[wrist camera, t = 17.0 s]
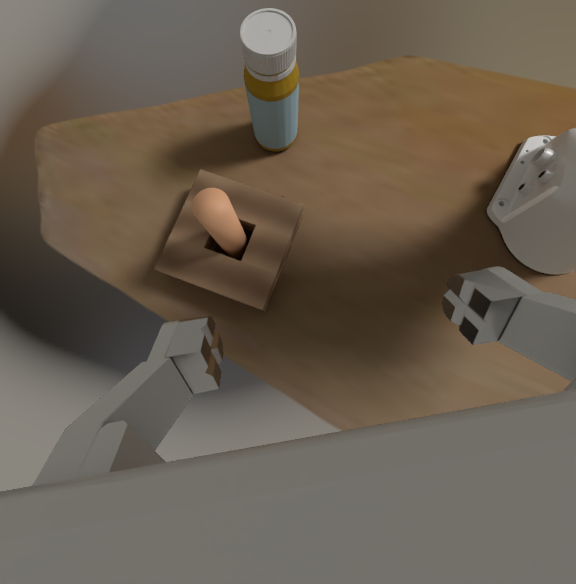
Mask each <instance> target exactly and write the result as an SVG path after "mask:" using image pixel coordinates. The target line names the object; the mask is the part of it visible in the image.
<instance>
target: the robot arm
mask: <svg viewBox="0 0 576 584" xmlns="http://www.w3.org/2000/svg"><path fill="white" fill-rule="evenodd" d="M499 204H500V205H501V206H500V205H499ZM487 214H488V216H489V218H490V219H491V220H492V221H493V222H494V223H495V224H496V225H497V226H498V228H499V230H500V232H501V234H502V237H503V239H504V242H505V244H506V245H507V247H508V249H509V250H510V251H511V253H512V254H513V255H514V256H515V257H516V258H517V259H518V260H519V261H520V262H522V263H523V264H524V265H526V266H528V267H529V268H531V269H533V270H536V271H538V272H542V273H546V274H556V275H557V274H566V273H570V272H573V271H575V270H576V128H573V129H570V130H567V131H565V132H563V133H561V134H560V135H558V136H534V137H530V138H528V139H526V140H525V141H524V142H523V143H522V144H521V146H520V148H519V149H518V151H517V153H516V155H515V157H514V159H513V161H512V163H511V164H510V166H509V168H508V170H507V172H506V174H505V176H504V177H503V179H502V181H501V183H500V185H499V187H498V189H497V191H496V192H495V194H494V196H493V198H492V200H491V202H490V204H489V206H488V208H487ZM447 286H448V288H449V289H450V290H449V291H448V292H447V293H446V294H445V295H444V297H443V301H442V306H443V311H444V313H445V315H446V317H447V318H448V319H449V320H450V321H451V322H453V323H456V324H458V325H459V331H460V332H461V333H462V334H463V335H464V336H465V337H466V338H467V339H468V341H469V342H470V343H471V344H472V345H476V344H483V343H490V342H496V341H499V343H501V344H503V345H504V346H506V347H508V348H510V349H512V350H514V351H516V352H518V353H519V354H521V355H523V356H525V357H527V358H529V359H531V360H533V361H534V362H536V363H538V364H540V365H542V366H544V367H546V368H547V369H549V370H551V371H553V372H555V373H557V374H559V375H561V376H562V377H564V378H566V379H568V380H570V381H572V382H571V383H570V384H569V385H568V386H567V387H566V389H565V390H564V392H560V393H554V394H549V395H543V396H537V397H532V398H526V399H520V400H515V401H509V402H503V403H498V404H492V405H487V406H481V407H475V408H470V409H464V410H458V411H453V412H447V413H441V414H436V415H430V416H424V417H419V418H413V419H408V420H402V421H396V422H391V423H385V424H379V425H374V426H368V427H363V428H357V429H351V430H346V431H340V432H335V433H329V434H323V435H319V436H312V437H306V438H301V439H295V440H290V441H284V442H279V443H273V444H267V445H262V446H256V447H250V448H245V449H239V450H234V451H228V452H222V453H217V454H211V455H205V456H199V457H194V458H188V459H182V460H177V461H171V462H165V461H164V460H163V459H162V458H161V457H160V456H159V455H158V454H157V453H156V452H155V450H156V448H157V447H158V445H159V444H160V443H161V441H162V440H163V438H164V437H165V435H166V434H167V432H168V431H169V430H170V428H171V427H172V425H173V424H174V422H175V421H176V420H177V418H178V417H179V415H180V413H181V412H182V411H183V409H184V408H185V407H186V405H187V404H188V402H189V401H190V399H191V398H192V396H193V394H197V393H202V392H206V391H212V390H217V389H219V385H220V378H221V370H220V368H219V364H220V363H221V362H222V361H223V344H222V340H221V337H220V335H219V333H217V332H215V331H214V330H215V322H214V320H213V318H212V317H211V316H204V317H198V318H191V319H184V320H180V321H172V322H166V323H164V324H163V325H162V327H161V329H160V331H159V334H158V336H157V338H156V341H155V343H154V345H153V348H152V350H151V353H150V355H149V357H148V360H147V361H146V362H142V363H141V364H139V365H138V366H137V367H136V368H135V369H134V370H132V371H131V372H130V373H129V374H128V375H127V376H126V377H124V378H123V379H122V380H121V381H120V382H119V383H118V384H116V385H115V386H114V387H113V388H112V389H111V390H110V391H108V392H107V393H106V394H105V395H104V396H103V397H101V398H100V399H99V400H98V401H97V402H96V403H95V404H93V405H92V406H91V407H90V408H89V409H88V410H87V411H86V412H84V413H83V414H82V415H81V416H80V417H79V418H77V419H76V420H75V421H74V422H73V423H72V424H71V425H69V426H68V427H67V428H66V429H65V431H64V432H63V434H62V436H61V437H60V439H59V441H58V442H57V444H56V446H55V448H54V450H53V451H52V453H51V455H50V456H49V458H48V460H47V461H46V463H45V465H44V467H43V468H42V470H41V472H40V474H39V475H38V477H37V478H36V480H35V482H34V483H33V485H32V486H30V487H24V488H18V489H12V490H7V491H1V492H0V584H576V300H575V299H572V298H568V297H564V296H561V295H557V294H554V293H550V292H548V293H543V292H542V291H540V290H539V289H537V288H535V287H534V286H532V285H531V284H529V283H527V282H526V281H524V280H523V279H521V278H520V277H518V276H516V275H515V274H513V273H512V272H510V271H509V270H507V269H505V268H504V267H499V266H495V267H490V268H485V269H482V270H477V271H471V272H465V273H459V274H454V275H452V276H451V277H450V278H449V280H448V283H447Z"/></svg>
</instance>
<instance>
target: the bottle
mask: <svg viewBox="0 0 576 584" xmlns="http://www.w3.org/2000/svg"><path fill="white" fill-rule="evenodd" d="M240 37H241V44H242V50H243V55H244V59H245V69H244V80H245V86H246V92H247V97H248V103H249V108H250V113H251V119H252V124H253V129H254V134H255V138H256V141H257V142H258V143H259V145H260V146H261V147H263V148H264V149H266V150H269V151H282V150H285V149H287V148H288V147H290V146H291V145H292V144H293V143H294V141H295V139H296V137H297V126H298V93H299V69H298V65H297V63H296V27H295V24H294V21H293V20H292V18H291V17H290V16H289V15H287V14H286V13H285V12H283V11H281V10H278V9H273V8H265V9H260V10H257V11H255V12H253V13H251V14H250V15H249V16H247V17H246V19H245V20H244V22H243V23H242V26H241V30H240Z"/></svg>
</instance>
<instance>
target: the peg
mask: <svg viewBox="0 0 576 584" xmlns="http://www.w3.org/2000/svg"><path fill="white" fill-rule="evenodd" d="M192 211H193V213H194V215H195V217H196V218H197V219H198V220H199V221H200V223H201V224H202V225H203V226H204V228H205V229H206V230H207V231H208V232H209V234H210V235H211V236H212V237H213V238H214V240H215V241H216V242H217V243H218V244H219V246H220V247H221V248H222V249H223V250H224V252H225V253H226V254H227V255H228V256H229V257H231V258H241V257H243V255H244V253H245V250H246V248H247V246H248V243H249V241H248V239H247V237H246V234H245V232H244V230H243V228H242V226H241V224H240V222H239V219H238V217H237V215H236V213H235V211H234V209H233V207H232V204H231V202H230V200H229V198H228V196H227V195H226V193H225V192H223V191H222V190H220V189H217V188H206V189H204V190H202V191H200V192H199V193H198V194H197V195H196V196H195V197H194V199H193V202H192Z"/></svg>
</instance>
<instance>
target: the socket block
mask: <svg viewBox="0 0 576 584" xmlns="http://www.w3.org/2000/svg"><path fill="white" fill-rule="evenodd" d="M206 188H217V189H220V190H222V191H223V192H225V193H226V195H227V196H228V198H229V200H230V202H231V204H232V207H233V209H234V211H235V213H236V215H237V217H238V219H239V222H240V224H241V226H242V228H243V230H245V231H248V232H251V233H252V236H251V238H250V241H249V243H248V246H247V248H246V250H245V253H244V255H243V258H242V260H241V261H239V260H236V259H234V258H231V257H228V256H225V255H223V254H220V253H217V252H214V251H215V249H216V247H217V244H218V243H217V242H216V241H215V240H214V238H213V237H212V236H211V235H210V234H209V232H208V231H207V230H206V229H205V228H204V226H203V225H202V224H201V223H200V221H199V220H198V219H197V218H196V217H195V215H194V213H193V211H192V202H193V199H194V197H195V196H196V195H197V194H198V193H199V192H200V191H202V190H204V189H206ZM303 205H304V204H301V203H298V202H295V201H292V200H289V199H287V198H284V197H281V196H278V195H275V194H272V193H269V192H266V191H263V190H260V189H257V188H254V187H252V186H249V185H246V184H243V183H240V182H237V181H234V180H231V179H228V178H225V177H222V176H219V175H216V174H214V173H211V172H208V171H205V170H202V169H200V171H199V173H198V175H197V177H196V180H195V182H194V184H193V186H192V188H191V190H190V193H189V195H188V197H187V199H186V201H185V203H184V206H183V208H182V210H181V212H180V214H179V216H178V219H177V221H176V223H175V225H174V227H173V229H172V231H171V234H170V236H169V238H168V240H167V242H166V244H165V247H164V249H163V251H162V253H161V255H160V257H159V260H158V262H157V264H156V266H155V268H154V269H155V270H157V271H159V272H161V273H163V274H166V275H168V276H170V277H173V278H176V279H178V280H181V281H184V282H186V283H189V284H192V285H194V286H197V287H200V288H202V289H205V290H208V291H210V292H213V293H216V294H218V295H221V296H224V297H226V298H229V299H232V300H234V301H237V302H240V303H242V304H245V305H248V306H250V307H253V308H256V309H258V310H261V311H264V312H266V309H267V307H268V304H269V302H270V299H271V297H272V294H273V291H274V289H275V286H276V284H277V281H278V278H279V276H280V273H281V271H282V268H283V265H284V263H285V260H286V258H287V255H288V253H289V250H290V247H291V245H292V242H293V240H294V237H295V234H296V232H297V229H298V227H299V224H300V222H301V219H302V215H303Z"/></svg>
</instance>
